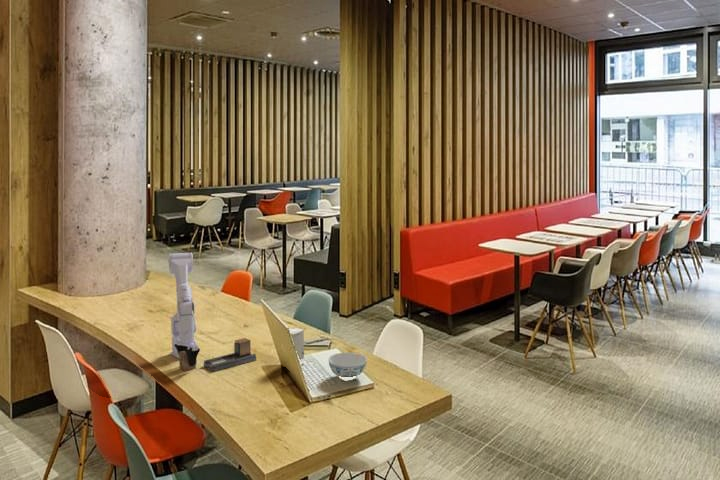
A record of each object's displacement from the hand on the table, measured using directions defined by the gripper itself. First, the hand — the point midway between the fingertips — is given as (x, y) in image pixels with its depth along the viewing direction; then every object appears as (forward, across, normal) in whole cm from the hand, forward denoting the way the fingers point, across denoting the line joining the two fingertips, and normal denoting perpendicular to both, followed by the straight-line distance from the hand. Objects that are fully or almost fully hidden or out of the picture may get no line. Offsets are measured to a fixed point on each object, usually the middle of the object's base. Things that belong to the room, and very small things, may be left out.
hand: (187, 363), depth 235 cm
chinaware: (+2, +50, +42) cm, 65 cm away
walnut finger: (+2, 0, 0) cm, 2 cm away
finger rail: (+2, +6, +16) cm, 17 cm away
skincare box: (+2, +25, +34) cm, 42 cm away
